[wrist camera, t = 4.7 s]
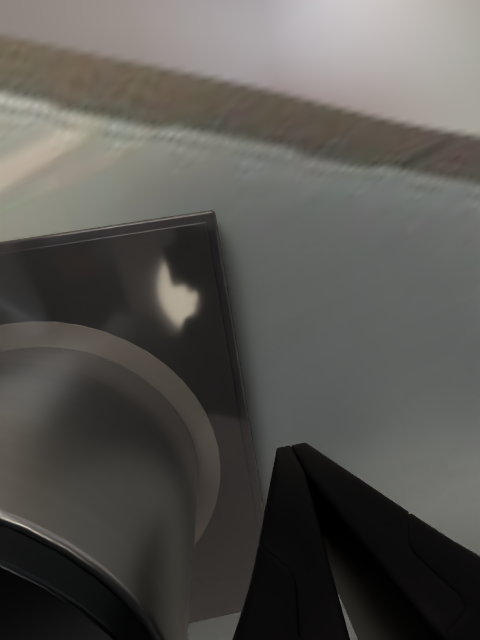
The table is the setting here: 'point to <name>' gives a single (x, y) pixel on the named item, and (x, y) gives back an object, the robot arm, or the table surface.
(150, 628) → the pot
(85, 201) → the table surface
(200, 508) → the hob
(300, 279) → the table surface
